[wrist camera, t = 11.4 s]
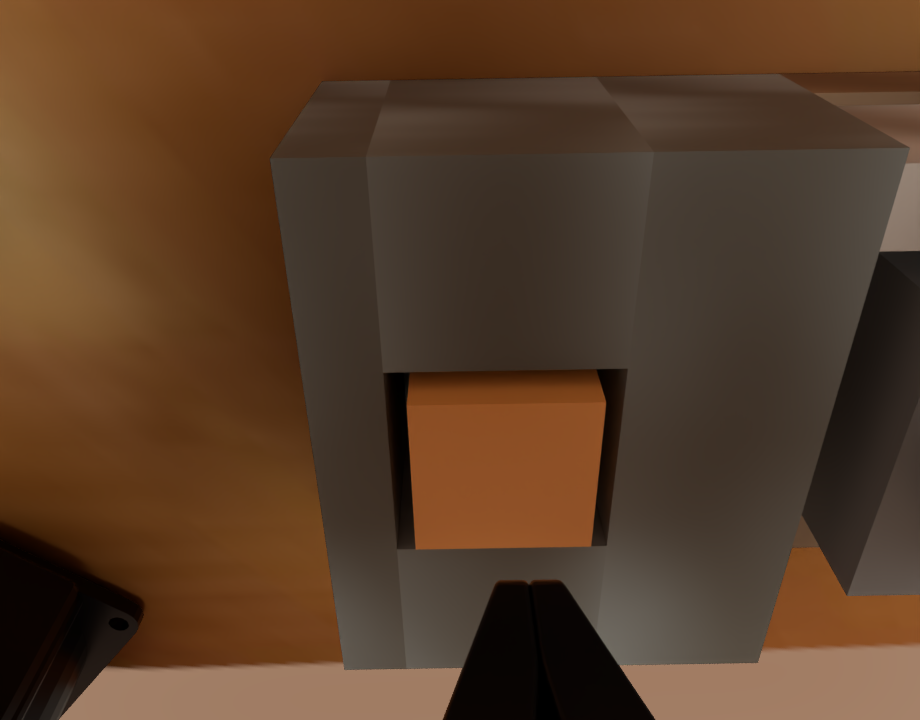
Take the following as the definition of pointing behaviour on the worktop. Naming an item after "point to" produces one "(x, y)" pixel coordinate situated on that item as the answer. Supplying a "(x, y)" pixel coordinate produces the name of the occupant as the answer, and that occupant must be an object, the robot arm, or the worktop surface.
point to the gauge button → (504, 457)
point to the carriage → (875, 444)
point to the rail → (590, 326)
